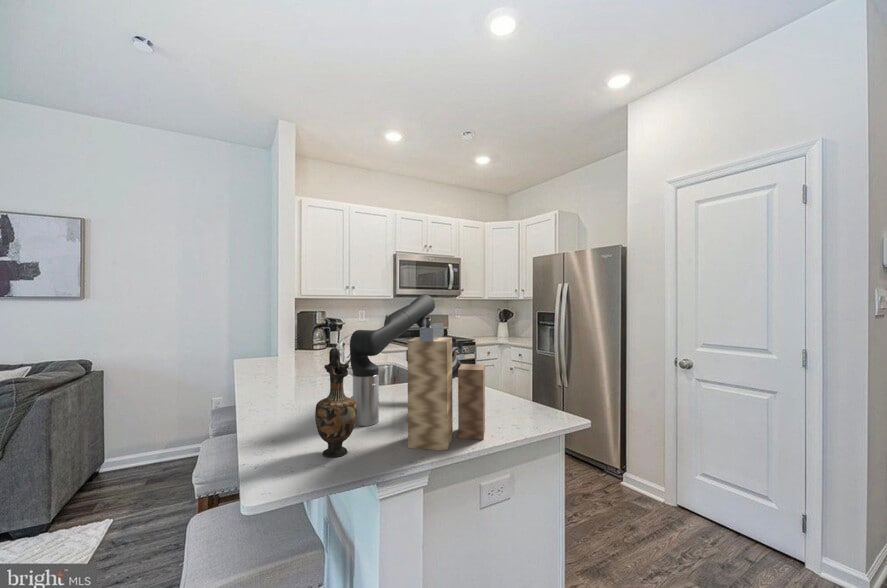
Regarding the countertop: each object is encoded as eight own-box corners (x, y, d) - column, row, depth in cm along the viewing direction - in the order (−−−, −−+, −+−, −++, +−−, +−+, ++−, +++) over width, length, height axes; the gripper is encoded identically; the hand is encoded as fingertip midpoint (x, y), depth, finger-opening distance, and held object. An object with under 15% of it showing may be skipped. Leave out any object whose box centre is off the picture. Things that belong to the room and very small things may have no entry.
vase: (317, 464, 104) (317, 353, 104) (313, 447, 115) (313, 347, 116) (360, 456, 109) (360, 350, 109) (352, 441, 120) (352, 345, 120)
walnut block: (458, 438, 123) (458, 369, 123) (461, 427, 132) (461, 363, 133) (483, 439, 121) (483, 369, 122) (485, 428, 131) (484, 364, 131)
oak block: (407, 448, 115) (407, 340, 115) (416, 434, 126) (415, 337, 126) (447, 450, 113) (447, 341, 113) (452, 436, 124) (452, 337, 124)
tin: (419, 341, 114) (419, 319, 114) (432, 334, 133) (432, 316, 133) (433, 341, 113) (433, 319, 113) (443, 335, 133) (443, 316, 133)
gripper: (430, 347, 156) (422, 330, 143) (465, 347, 154) (461, 330, 140) (428, 364, 152) (420, 348, 139) (464, 365, 150) (460, 349, 136)
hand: (441, 339), depth 140 cm, fingers open, 8 cm apart
